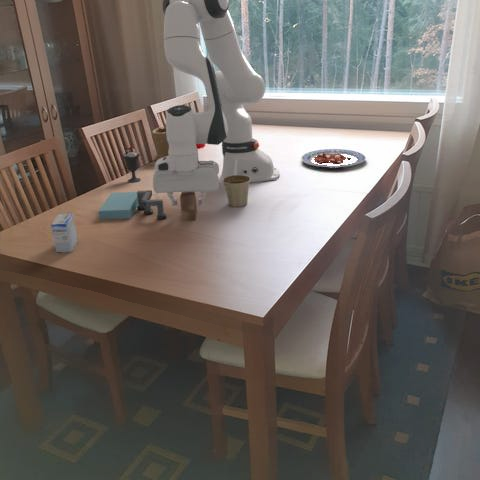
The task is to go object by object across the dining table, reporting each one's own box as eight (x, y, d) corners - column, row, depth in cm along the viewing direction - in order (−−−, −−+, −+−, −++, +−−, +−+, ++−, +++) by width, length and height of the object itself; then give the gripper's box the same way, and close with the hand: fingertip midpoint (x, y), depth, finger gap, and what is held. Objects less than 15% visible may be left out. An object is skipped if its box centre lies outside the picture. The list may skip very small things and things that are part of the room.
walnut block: (197, 213, 165) (194, 189, 161) (195, 220, 159) (192, 196, 156) (184, 213, 165) (182, 190, 162) (182, 221, 160) (179, 196, 156)
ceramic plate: (293, 169, 203) (293, 162, 202) (310, 152, 225) (310, 145, 223) (359, 174, 194) (359, 166, 193) (370, 155, 215) (370, 149, 214)
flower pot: (231, 211, 165) (229, 185, 161) (218, 202, 173) (217, 178, 169) (256, 205, 169) (256, 180, 165) (243, 197, 176) (242, 173, 173)
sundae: (139, 183, 196) (134, 144, 189) (123, 182, 197) (117, 144, 191) (145, 177, 202) (140, 140, 195) (129, 177, 203) (124, 140, 197)
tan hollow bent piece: (149, 164, 218) (145, 129, 212) (160, 157, 229) (156, 123, 222) (183, 165, 215) (179, 130, 208) (192, 157, 225) (189, 123, 219)
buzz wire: (170, 205, 172) (169, 188, 169) (165, 219, 161) (163, 201, 159) (138, 207, 172) (136, 190, 170) (130, 220, 161) (128, 203, 159)
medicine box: (63, 241, 150) (57, 214, 146) (78, 240, 150) (72, 212, 146) (56, 253, 142) (50, 224, 139) (72, 252, 143) (66, 223, 139)
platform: (141, 199, 179) (139, 191, 177) (130, 218, 163) (129, 209, 162) (112, 201, 179) (111, 192, 178) (99, 219, 164) (98, 210, 162)
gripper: (219, 157, 157) (221, 199, 163) (152, 160, 158) (158, 202, 164) (217, 163, 151) (220, 206, 157) (149, 166, 152) (154, 209, 158)
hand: (188, 204), depth 160 cm, fingers open, 7 cm apart
